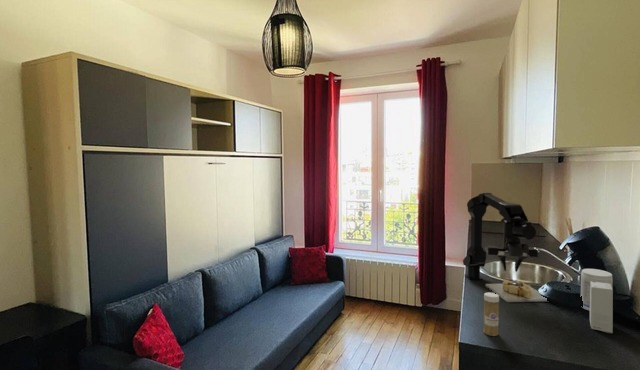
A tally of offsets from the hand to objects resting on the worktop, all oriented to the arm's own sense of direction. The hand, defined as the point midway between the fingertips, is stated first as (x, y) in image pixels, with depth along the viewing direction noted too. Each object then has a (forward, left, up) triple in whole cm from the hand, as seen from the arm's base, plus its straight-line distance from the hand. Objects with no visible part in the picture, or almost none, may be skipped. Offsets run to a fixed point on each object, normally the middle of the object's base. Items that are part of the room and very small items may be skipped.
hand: (510, 271), depth 142 cm
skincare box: (+25, +17, -12) cm, 33 cm away
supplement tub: (+11, +27, -12) cm, 32 cm away
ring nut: (-4, +6, -10) cm, 13 cm away
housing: (-6, +6, -12) cm, 15 cm away
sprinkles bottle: (+28, -23, -12) cm, 38 cm away
